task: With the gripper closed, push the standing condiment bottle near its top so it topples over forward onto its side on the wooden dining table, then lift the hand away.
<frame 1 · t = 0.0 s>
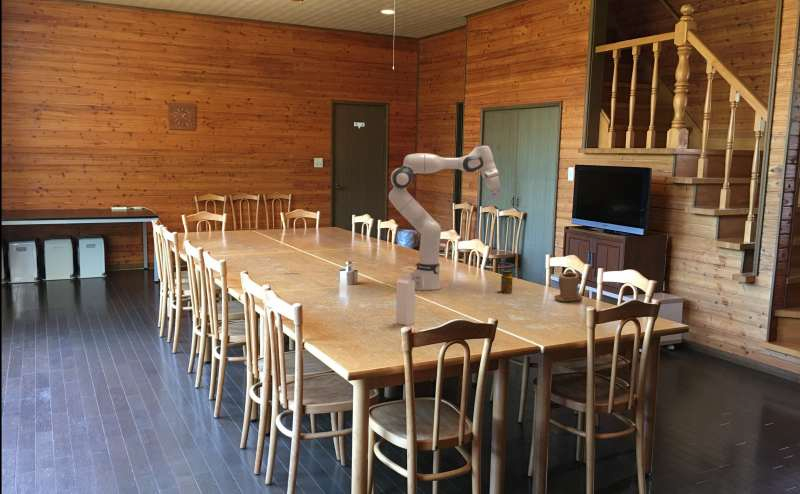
hand: (496, 196, 369), 52 cm above the table, tool tilted 20°, fingers open, 8 cm apart
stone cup: (569, 301, 345), on the table
milk: (405, 323, 295), on the table
condiment: (505, 293, 363), on the table
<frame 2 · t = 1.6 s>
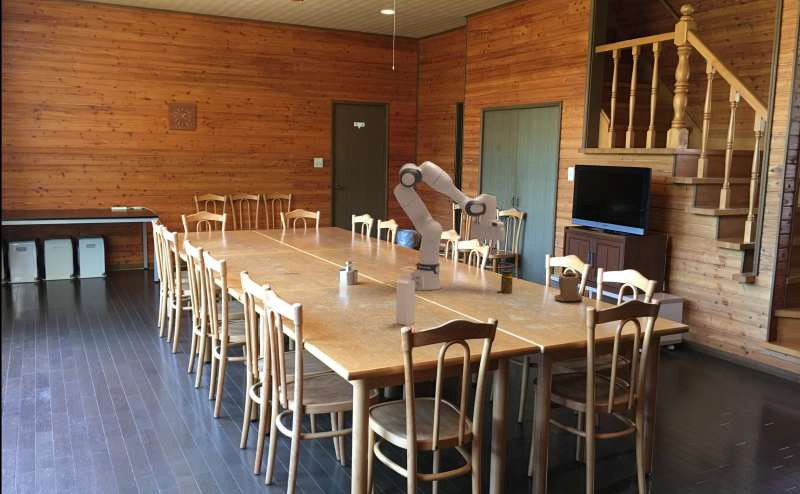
hand: (487, 247, 366), 24 cm above the table, tool pointing down, fingers open, 6 cm apart
nothing on the table moved.
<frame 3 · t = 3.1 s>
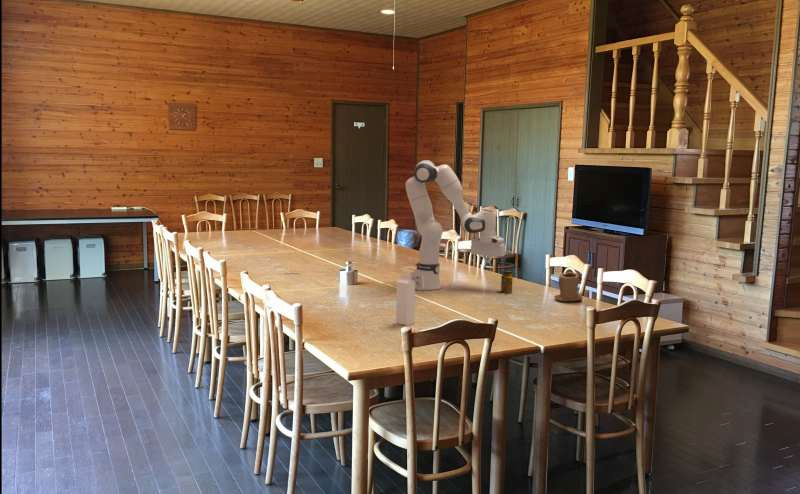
hand: (487, 263, 368), 15 cm above the table, tool pointing down, fingers closed
nothing on the table moved.
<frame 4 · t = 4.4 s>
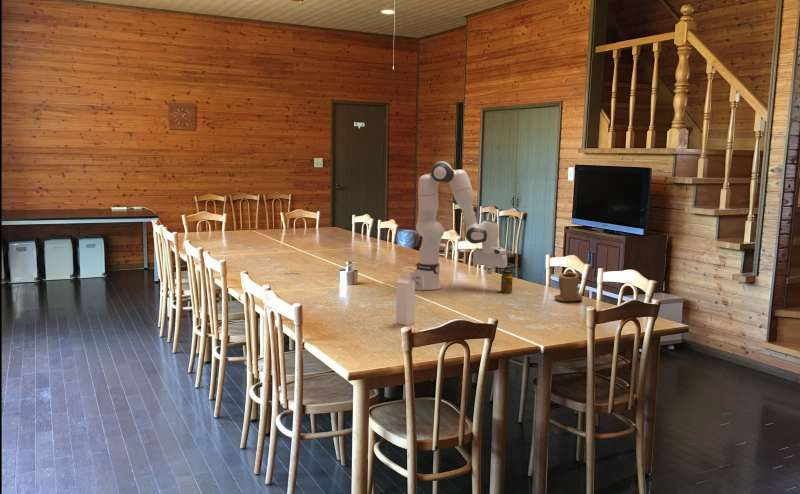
hand: (489, 273, 368), 9 cm above the table, tool pointing down, fingers closed
nothing on the table moved.
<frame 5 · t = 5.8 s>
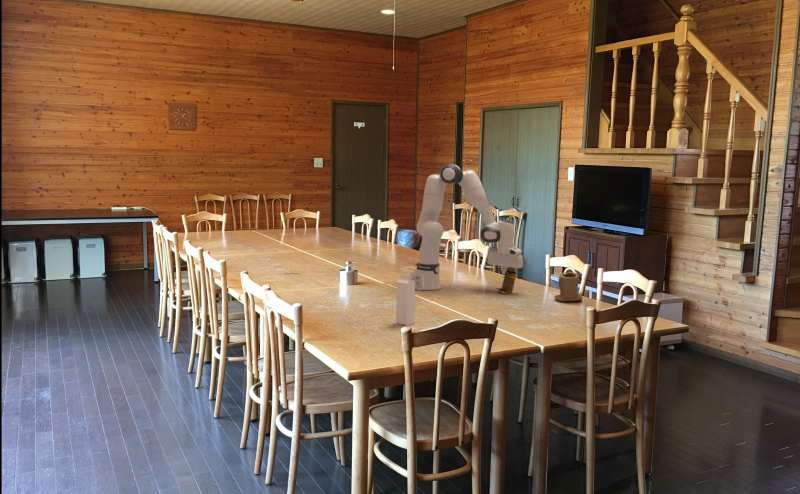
hand: (504, 274, 363), 10 cm above the table, tool pointing down, fingers closed, pressing on condiment
condiment: (505, 291, 363), point 1 cm above the table, touching gripper
everything else where it was.
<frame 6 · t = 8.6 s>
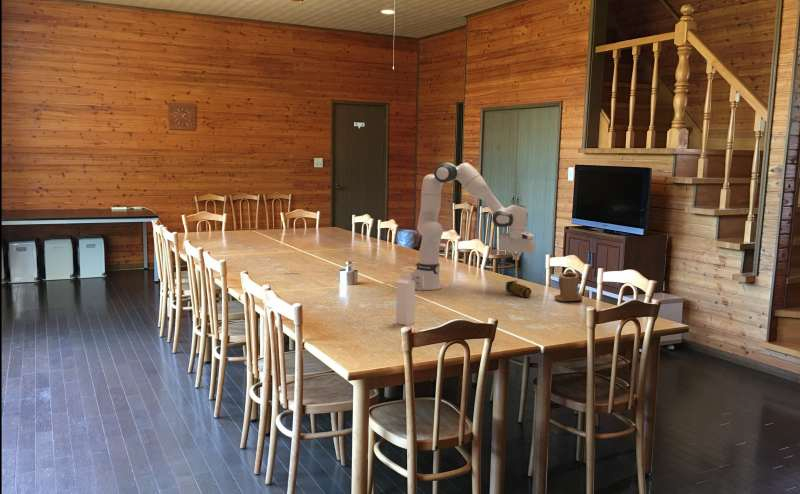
hand: (515, 259, 357), 19 cm above the table, tool pointing down, fingers closed
condiment: (510, 287, 359), point 4 cm above the table
everything else where it was.
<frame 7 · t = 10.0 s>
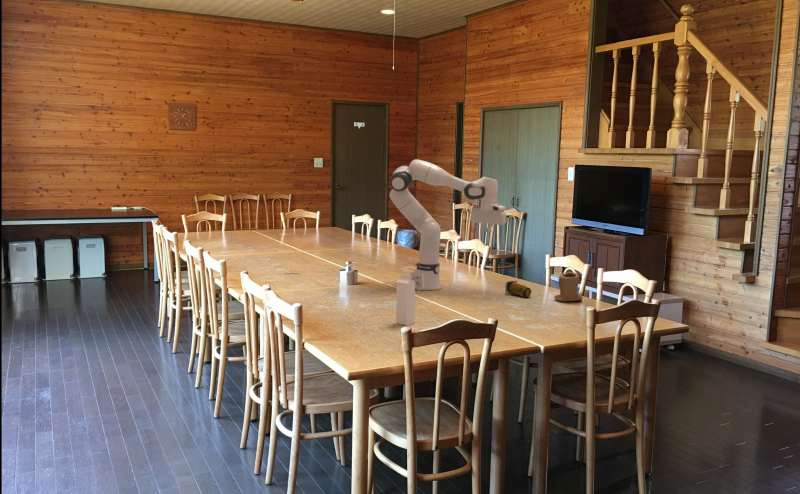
hand: (487, 232, 356), 34 cm above the table, tool pointing down, fingers closed
nothing on the table moved.
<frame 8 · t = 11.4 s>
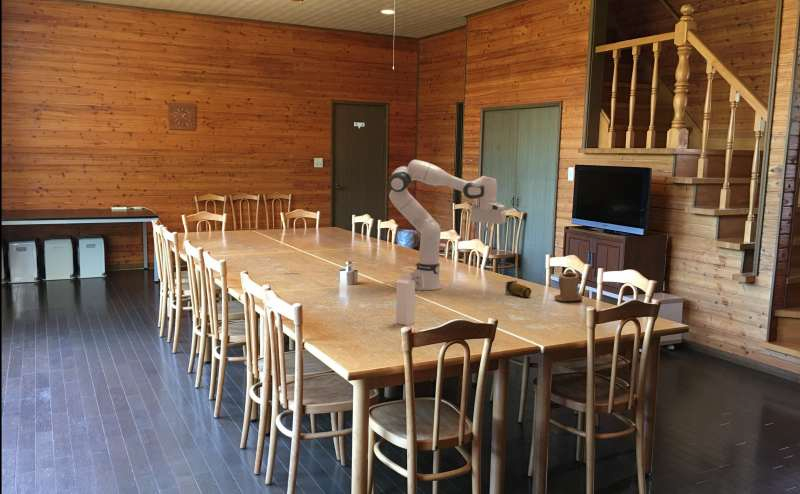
hand: (487, 231, 356), 34 cm above the table, tool pointing down, fingers closed
nothing on the table moved.
at the end: condiment tilted 93°; condiment inside the target area (5.2 cm from its centre), point 3.7 cm above the table; the gripper is holding nothing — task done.
